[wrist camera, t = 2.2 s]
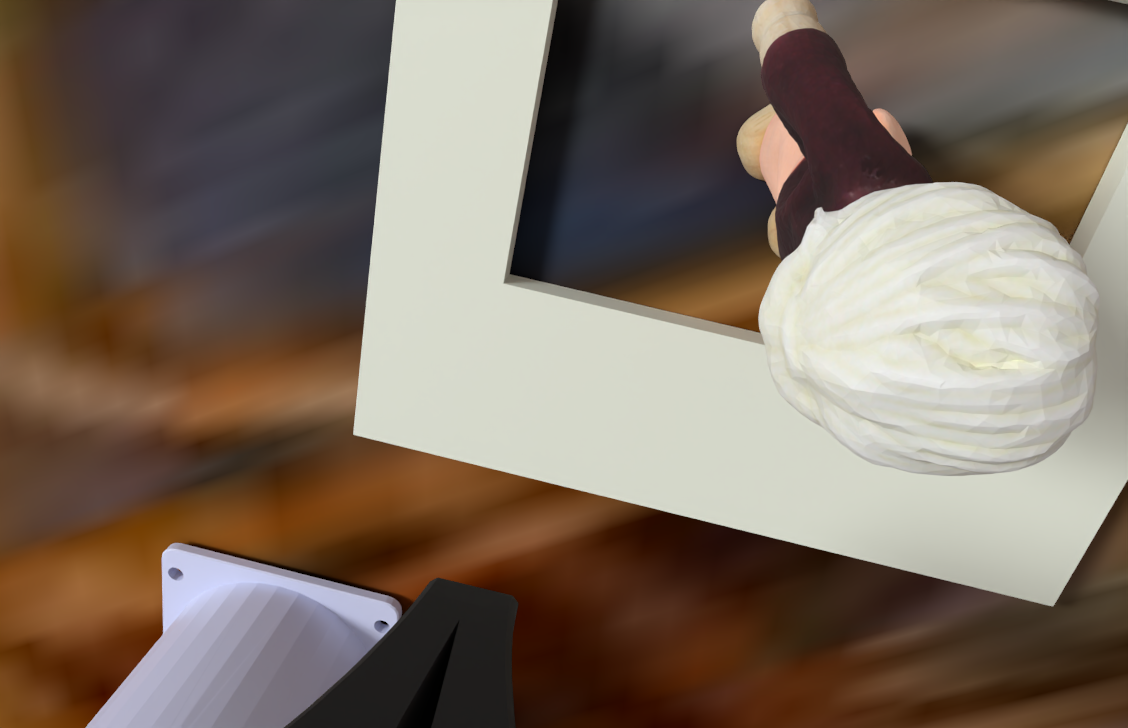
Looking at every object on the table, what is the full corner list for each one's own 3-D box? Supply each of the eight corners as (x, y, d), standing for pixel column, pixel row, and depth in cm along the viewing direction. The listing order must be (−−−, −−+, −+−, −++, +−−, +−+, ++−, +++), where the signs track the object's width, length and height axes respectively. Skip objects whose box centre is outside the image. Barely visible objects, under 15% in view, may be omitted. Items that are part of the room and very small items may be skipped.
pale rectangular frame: (1041, 587, 23) (1052, 606, 22) (363, 421, 24) (353, 434, 23) (1459, -142, 15) (1496, -150, 15) (443, -347, 16) (432, -363, 16)
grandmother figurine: (951, 256, 20) (1321, 607, 8) (803, 328, 21) (946, 721, 9) (810, -43, 18) (1045, -131, 6) (655, 57, 19) (607, 139, 7)
